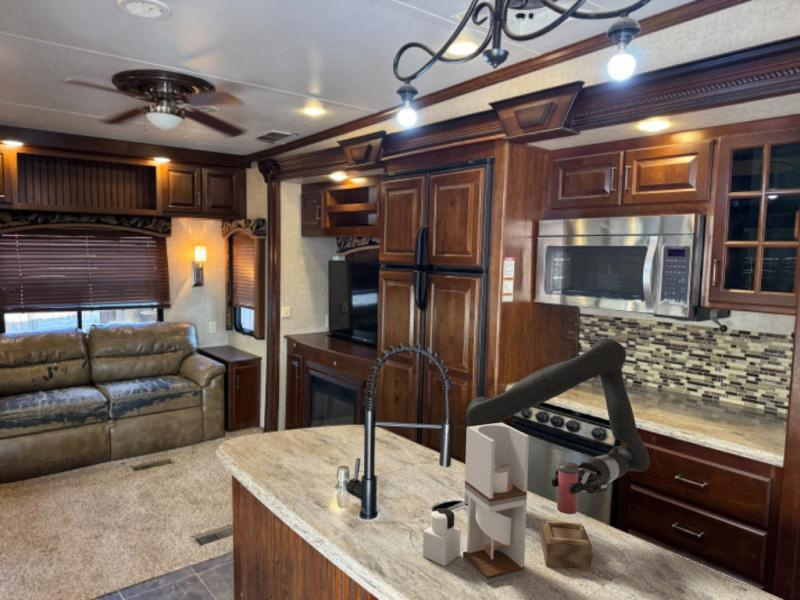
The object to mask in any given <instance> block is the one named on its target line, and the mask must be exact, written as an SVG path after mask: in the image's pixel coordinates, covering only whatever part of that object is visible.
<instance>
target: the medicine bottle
mask: <svg viewBox="0 0 800 600" xmlns="http://www.w3.org/2000/svg"><path fill="white" fill-rule="evenodd" d="M461 535H462V530H461V529H460V528H458V527H455V513H454V512H453V511H452V510H450V509H448V508H440V507H439V508H435V509H434V510H432V511H431V513H430V526H429V527H428V528H426V529H424V530H423V541H422V543H423V544H422V549H423V550H422V557H423V558H425V559H428V560H429V561H432V562H434V563H436V564H439V565H441V566H443V567H446V566H447V565H449V564H450V563H451V562H453V561H454V560H456V559H457V558H459V557H460V555H461V539H462V536H461Z"/></svg>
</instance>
